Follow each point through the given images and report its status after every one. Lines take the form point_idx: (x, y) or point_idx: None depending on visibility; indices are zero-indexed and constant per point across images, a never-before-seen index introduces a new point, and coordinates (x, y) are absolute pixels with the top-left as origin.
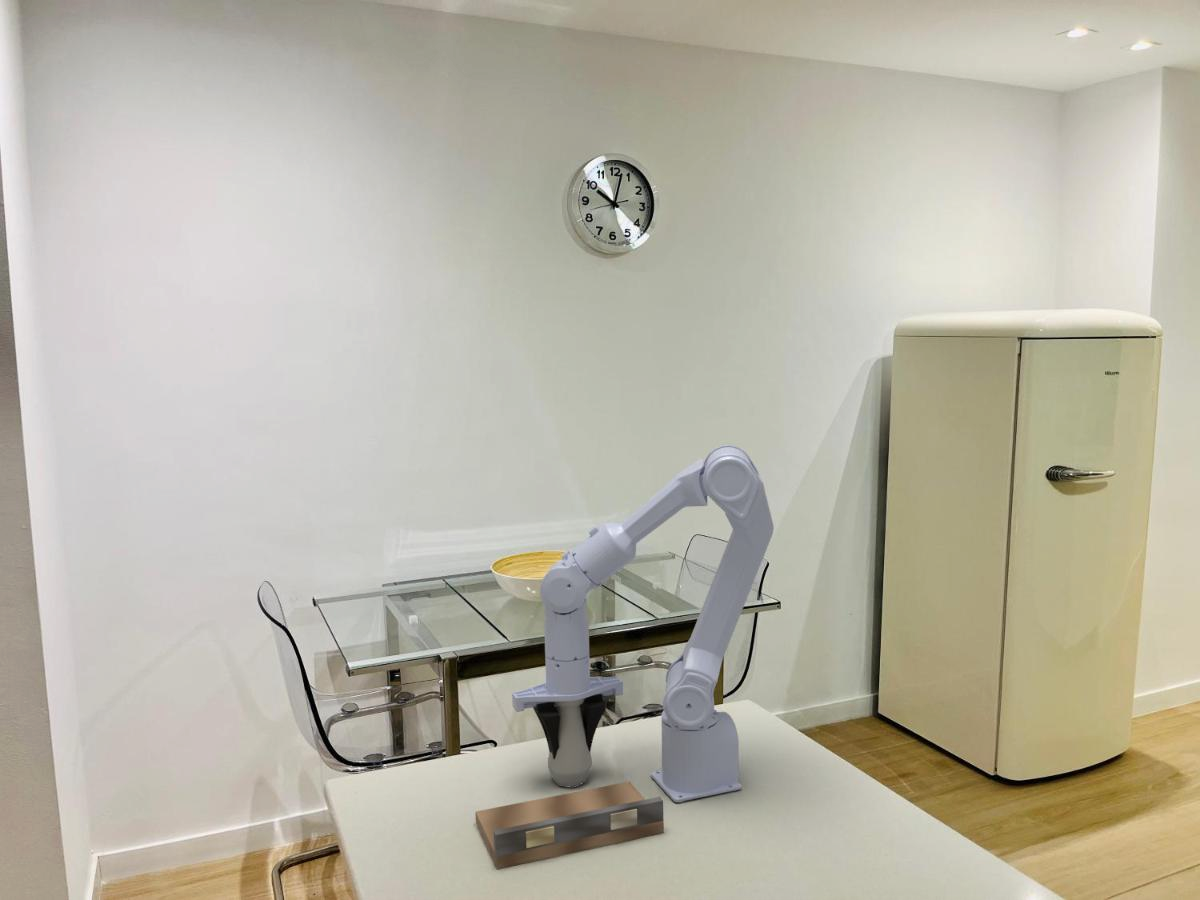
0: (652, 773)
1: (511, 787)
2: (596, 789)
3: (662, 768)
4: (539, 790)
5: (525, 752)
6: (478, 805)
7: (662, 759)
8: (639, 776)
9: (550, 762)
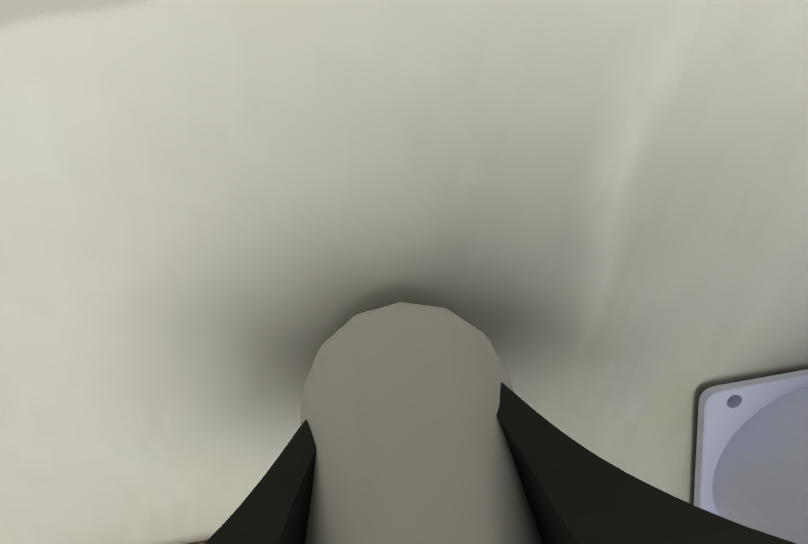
0: (711, 405)
1: (163, 370)
2: None
3: (758, 499)
4: (276, 409)
5: (213, 33)
6: (48, 470)
7: (792, 537)
8: (660, 375)
9: None
